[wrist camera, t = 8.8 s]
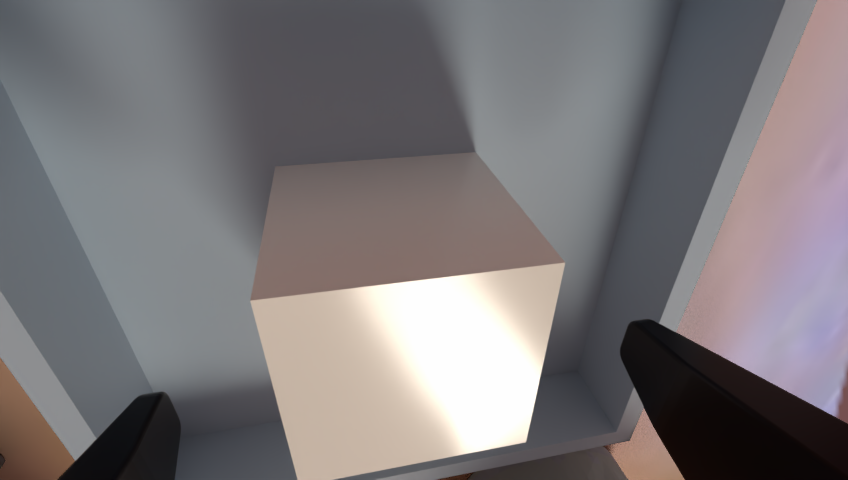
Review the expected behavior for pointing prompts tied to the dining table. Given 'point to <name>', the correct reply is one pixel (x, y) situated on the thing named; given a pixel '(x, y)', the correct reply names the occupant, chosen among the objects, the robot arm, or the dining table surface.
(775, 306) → the dining table surface
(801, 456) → the robot arm
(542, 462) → the grey cylinder
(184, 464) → the bin
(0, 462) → the bin
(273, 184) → the smooth beige block
